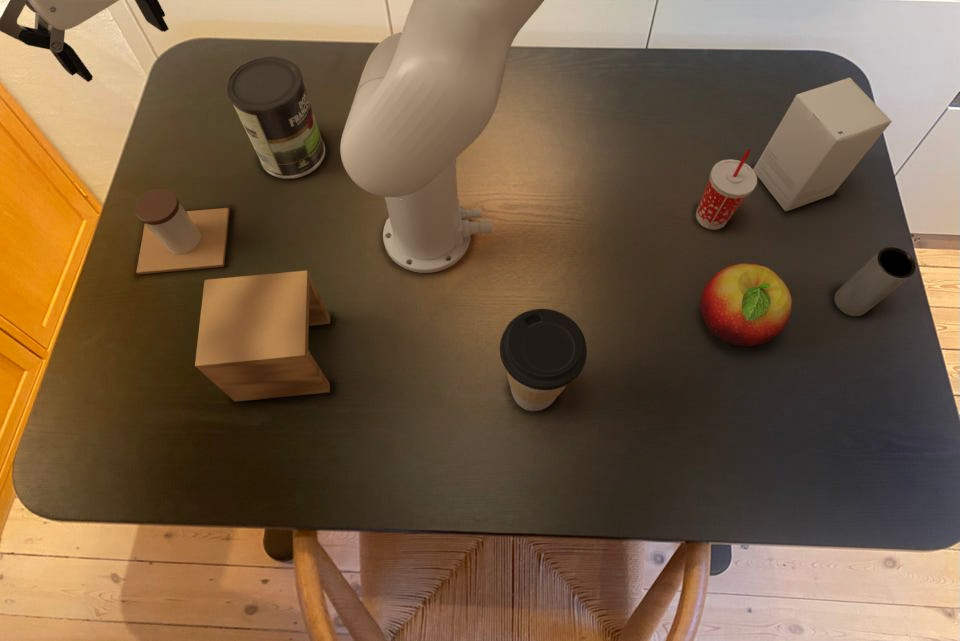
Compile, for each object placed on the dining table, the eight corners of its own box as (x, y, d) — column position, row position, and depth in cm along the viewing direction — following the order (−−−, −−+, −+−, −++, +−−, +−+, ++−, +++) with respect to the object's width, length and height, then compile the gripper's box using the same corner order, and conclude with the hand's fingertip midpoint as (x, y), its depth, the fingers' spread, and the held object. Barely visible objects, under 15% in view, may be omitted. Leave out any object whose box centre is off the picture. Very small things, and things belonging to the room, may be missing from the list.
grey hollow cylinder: (872, 298, 83) (921, 257, 74) (861, 322, 81) (910, 284, 72) (840, 282, 84) (884, 240, 75) (828, 306, 82) (872, 266, 73)
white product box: (835, 195, 91) (896, 121, 77) (784, 213, 89) (837, 141, 76) (799, 152, 95) (851, 74, 81) (750, 169, 93) (795, 92, 80)
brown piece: (330, 316, 82) (307, 270, 71) (329, 392, 77) (305, 355, 66) (241, 324, 82) (204, 279, 71) (234, 401, 77) (194, 366, 66)
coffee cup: (527, 342, 80) (536, 286, 67) (585, 385, 77) (607, 335, 64) (482, 395, 77) (482, 347, 64) (541, 441, 74) (554, 401, 61)
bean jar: (203, 222, 88) (179, 186, 81) (199, 253, 86) (174, 219, 79) (166, 225, 88) (138, 190, 81) (161, 256, 86) (132, 223, 79)
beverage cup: (737, 208, 90) (778, 141, 77) (726, 239, 87) (767, 175, 75) (696, 194, 91) (731, 126, 78) (685, 225, 89) (718, 159, 76)
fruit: (783, 307, 82) (819, 269, 73) (756, 371, 78) (792, 339, 69) (708, 273, 85) (735, 232, 76) (679, 333, 81) (703, 297, 72)
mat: (229, 209, 90) (228, 207, 90) (224, 266, 86) (222, 264, 85) (148, 217, 90) (146, 214, 89) (138, 274, 85) (136, 272, 85)
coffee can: (334, 134, 97) (312, 61, 84) (313, 184, 92) (286, 114, 80) (273, 124, 98) (242, 50, 85) (249, 173, 93) (213, 103, 81)
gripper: (-66, -60, 45) (72, 112, 61) (125, -157, 51) (207, 22, 67) (-116, -96, 48) (30, 79, 63) (73, -186, 53) (164, -6, 69)
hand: (121, 49), depth 65 cm, fingers open, 9 cm apart
